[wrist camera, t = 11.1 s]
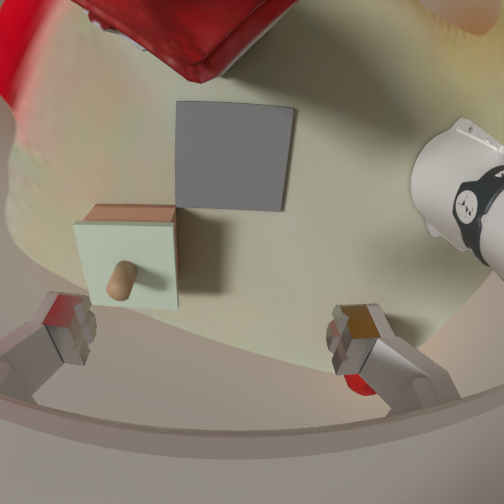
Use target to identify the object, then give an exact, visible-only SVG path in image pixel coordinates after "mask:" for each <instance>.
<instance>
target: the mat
mask: <svg viewBox="0 0 504 504" xmlns="http://www.w3.org/2000/svg"><path fill="white" fill-rule="evenodd" d="M293 112H294V108H291V107H282V106H272V105H260V104H247V103H231V102H206V101H177V102H176V133H175V199H176V207H182V208H212V209H236V210H256V211H275V212H281V205H282V198H283V190H284V183H285V175H286V168H287V160H288V152H289V144H290V136H291V128H292V120H293Z"/></svg>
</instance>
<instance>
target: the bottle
mask: <svg viewBox="0 0 504 504" xmlns="http://www.w3.org/2000/svg"><path fill="white" fill-rule="evenodd" d="M71 1H73V2H74V3H76V4H78V5H79V6H81V7H82V9H83V12H84V13H85V14H87V15H88V16H89V19H90V22H91V23H92V24H93V25H95V26H96V27H98V28H100V29H101V30H103V31H107V32H111V33H115V34H117V35H119V36H120V37H122V38H123V39H125V40H126V41H128V42H129V43H130V44H132V45H133V46H135V47H136V48H138V49H139V50H140V51H149V52H150V53H152V54H153V55H154V56H156V57H157V58H159V59H160V60H161V61H163V62H164V63H165V64H167V65H168V66H169V67H171V68H172V69H173V70H175V71H176V72H177V73H179V74H180V75H181V76H183V77H184V78H185V79H186V80H188V81H191V82H196V83H200V84H202V83H204V82H207V81H209V80H212V79H214V78H217V77H219V76H221V75H223V74H225V73H226V72H227V71H228V70H229V69H230V67H231V66H232V65H233V64H234V63H235V62H236V61H237V60H238V59H239V58H240V57H241V56H242V55H243V54H244V53H246V52H247V51H248V50H249V49H250V48H251V47H252V46H253V45H254V44H255V43H256V42H257V41H258V40H259V39H260V38H261V37H262V36H263V35H264V34H266V33H267V32H268V31H269V30H270V29H271V28H272V27H273V26H274V25H275V24H276V23H277V22H278V21H279V20H280V19H281V18H282V17H283V16H284V15H285V14H286V13H287V12H288V11H289V10H290V9H291V8H292V7H293V6H294V5H295V4H296V3H297V2H298V1H299V0H71Z"/></svg>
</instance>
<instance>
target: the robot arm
mask: <svg viewBox="0 0 504 504" xmlns="http://www.w3.org/2000/svg"><path fill="white" fill-rule="evenodd" d="M469 128H470V131H469ZM411 194H412V199H413V202H414V205H415V207H416V209H417V210H418V212H419V213H420V214H421V215H422V217H423V218H424V219H425V222H426V227H427V231H428V233H429V234H430V235H431V236H433V237H441V236H443V237H444V238H445V239H446V240H447V241H449V242H450V243H451V244H452V245H453V246H454V247H456V248H457V249H458V250H459V251H462V252H463V251H469V250H470V252H471V253H472V254H473V255H474V256H475V257H476V258H477V259H478V260H480V261H481V262H482V263H483V264H484V265H486V266H489V267H491V268H492V269H493V270H494V271H495V272H496V273H497V274H498V276H499V277H500V278H501V279H502V280H503V281H504V146H503V145H502V144H501V143H499V142H498V141H497V140H496V139H494V138H493V137H492V136H491V135H489V134H488V133H487V132H485V131H484V130H483V129H481V128H480V127H479V126H477V125H476V124H474V123H473V122H472V121H470V120H469V119H467V118H465V117H461V118H459V119H458V120H457V121H456V122H455V123H454V125H453V126H452V127H451V128H450V129H449V130H447V131H445V132H443V133H441V134H439V135H437V136H436V137H434V138H433V139H432V140H430V141H429V142H428V143H427V144H426V146H425V147H424V148H423V150H422V151H421V153H420V154H419V156H418V158H417V160H416V163H415V165H414V168H413V172H412V177H411ZM90 306H91V302H90V299H89V297H88V296H86V295H80V294H72V293H64V292H53V291H50V292H48V293H46V295H45V297H44V298H43V300H42V302H41V303H40V305H39V307H38V308H37V310H36V312H35V314H34V315H33V317H32V319H31V320H30V322H25V323H24V324H22V325H21V326H19V327H18V328H16V329H15V330H13V331H12V332H10V333H9V334H8V335H6V336H4V337H3V338H1V339H0V504H504V384H502V385H500V386H497V387H494V388H491V389H489V390H486V391H483V392H480V393H477V394H474V395H471V396H468V397H464V398H461V397H460V395H459V393H458V391H457V389H456V387H455V385H454V383H453V381H452V379H451V377H450V375H449V373H448V372H447V371H446V370H445V369H444V368H442V367H441V366H439V365H438V364H437V363H435V362H434V361H433V360H431V359H430V358H428V357H427V356H426V355H424V354H423V353H421V352H420V351H419V350H417V349H416V348H415V347H413V346H412V345H410V344H409V343H408V342H406V341H405V340H403V339H402V338H401V337H399V336H397V337H395V335H394V333H393V331H392V329H391V327H390V325H389V323H388V321H387V319H386V317H385V315H384V313H383V311H382V309H381V307H380V306H379V305H378V304H355V305H336V306H335V307H334V310H333V313H332V315H333V318H334V320H332V321H331V322H330V323H329V325H328V328H327V335H326V340H327V346H328V350H329V351H331V352H332V353H333V354H334V355H333V358H332V363H333V366H334V370H335V373H336V375H350V374H359V376H360V377H361V378H362V379H363V380H364V381H365V382H366V383H367V384H368V385H369V386H370V387H371V388H372V389H373V390H374V391H375V392H376V393H377V394H378V395H379V396H380V397H381V398H382V399H383V400H384V401H385V402H386V403H387V404H388V405H389V406H390V407H391V408H392V409H391V410H390V411H389V413H388V414H387V415H386V416H385V417H383V418H377V419H372V420H365V421H359V422H352V423H345V424H337V425H329V426H319V427H309V428H298V429H297V428H296V429H280V430H251V431H250V430H248V431H228V430H226V431H224V430H223V431H222V430H196V429H180V428H168V427H157V426H148V425H139V424H131V423H124V422H118V421H111V420H106V419H100V418H94V417H89V416H84V415H79V414H75V413H69V412H65V411H61V410H57V409H53V408H49V407H45V406H41V405H38V404H37V403H36V401H35V400H34V399H33V397H32V395H33V394H34V393H35V392H36V391H37V390H38V389H39V388H40V387H41V386H42V385H43V383H45V382H46V381H47V380H48V379H49V378H50V377H51V376H52V375H53V374H54V373H55V372H56V371H57V370H58V369H59V368H60V367H61V366H62V365H63V363H68V364H76V365H83V366H85V364H86V361H87V358H88V355H89V352H90V350H89V347H88V345H89V344H90V343H92V342H93V341H94V338H95V335H96V328H97V325H96V318H95V315H94V314H93V313H92V312H91V311H90V310H89V309H90Z"/></svg>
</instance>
